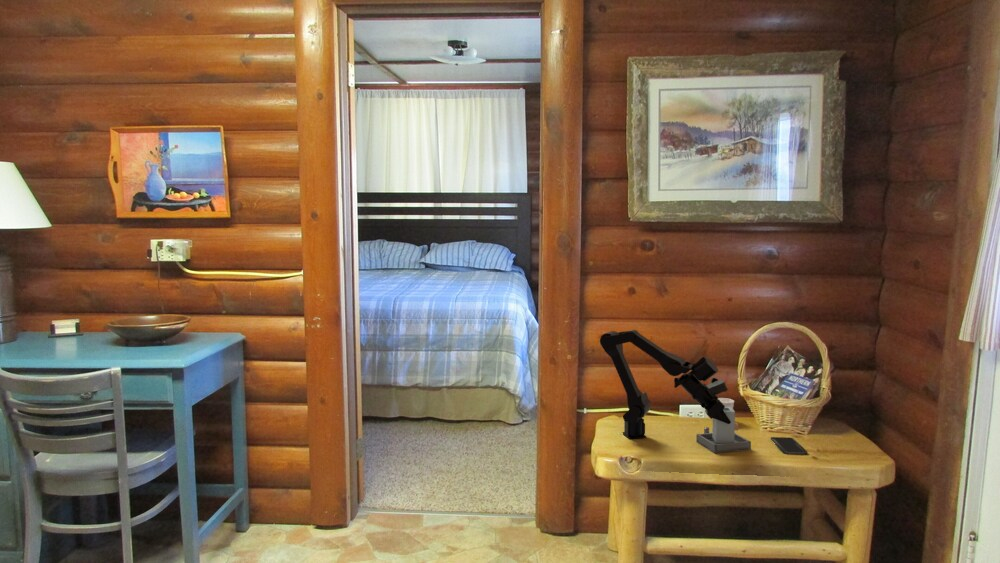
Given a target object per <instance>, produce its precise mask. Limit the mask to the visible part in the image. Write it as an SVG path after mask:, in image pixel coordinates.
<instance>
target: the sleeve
mask: <svg viewBox="0 0 1000 563" xmlns="http://www.w3.org/2000/svg"><path fill="white" fill-rule="evenodd" d="M723 411H724V412H725V414H726V415H727V417H728V418H729V420H730V421H731V423H730V424H727V423H724V422H722V421H719V420H717V419H714V418H712V431H711V433H712V437H713V439H714V441H715V442H716V443H733V442H734V434H735V432H736V431H738V430H739V423H737V422H736V411H735V410H734V408H733V409H732V408H731V407H724V409H723Z"/></svg>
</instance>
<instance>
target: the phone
mask: <svg viewBox="0 0 1000 563" xmlns="http://www.w3.org/2000/svg"><path fill="white" fill-rule="evenodd" d="M771 440H772V441H773V442H774V443H775V444H774V443H773V442H772V441H771ZM770 441H771V442H772V443H773V444H774V445H775V447H776V448H777V449H779V451H780V452H781V453H782V454H783V455H797V456H798V455H799V456H800V455H801V456H806V455H808V451H807V449H805V448H804V447H803V446H802V445H801V444H800V443H799V442H798V441H797V440H796V439H795V438H793V437H785V436H784V437H782V436H781V437H777V436H772V437H770Z"/></svg>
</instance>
